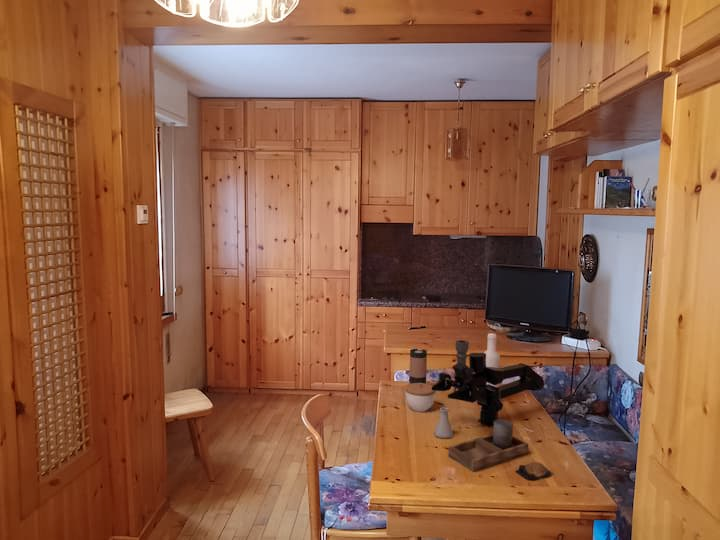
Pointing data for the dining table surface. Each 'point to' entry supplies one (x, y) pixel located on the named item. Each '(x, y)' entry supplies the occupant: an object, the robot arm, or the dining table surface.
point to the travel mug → (418, 366)
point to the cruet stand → (489, 448)
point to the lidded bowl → (420, 396)
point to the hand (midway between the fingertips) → (439, 392)
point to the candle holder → (461, 352)
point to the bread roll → (534, 471)
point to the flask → (443, 425)
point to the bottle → (492, 354)
